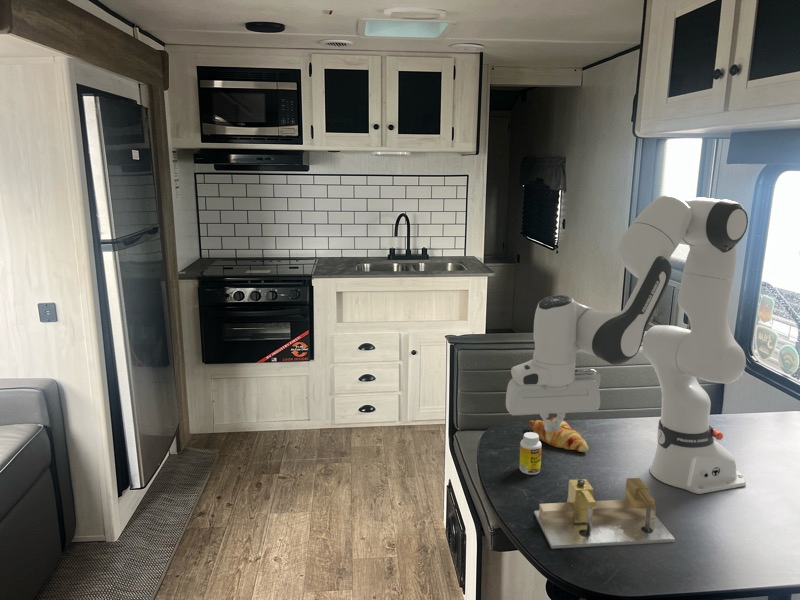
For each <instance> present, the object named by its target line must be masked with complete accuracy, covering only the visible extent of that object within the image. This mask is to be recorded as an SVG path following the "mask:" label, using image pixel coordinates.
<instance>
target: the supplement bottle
mask: <svg viewBox="0 0 800 600" xmlns="http://www.w3.org/2000/svg"><path fill="white" fill-rule="evenodd" d="M522 438H523V439H521V441H520V442H519V470H520V471H521V473H523V474H526V475H532V476H533V475H537V474H539V473H540V472H541V468H542V467H541V466H542V442H541V440H540V439H539V435H538V434H536V433H534V432H533V431H529V432H528V431H527V432H525V433H524V434H523V437H522Z"/></svg>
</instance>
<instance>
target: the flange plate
mask: <svg viewBox="0 0 800 600" xmlns="http://www.w3.org/2000/svg"><path fill="white" fill-rule="evenodd" d="M533 514H534V516H535V518H536V521H537V523H538V525H539V526H540V528H541V530H542V532H543V534H544V536H545V538H546V540H547V542H548V545H549V546H550V548H551V549H553V550H555V549H569V548H571V549H573V548H587V547H589V548H590V547H591V548H592V547H606V546H607V547H608V546H623V545H624V546H627V545H642V544H644V545H645V544H659V543H660V544H662V543H663V544H665V543H675V542H676V541H675V540H676V538H675V537H674V536H673V535H672V533H671V532H670V531H669V529H667V528H666V526H665V525H664V524H663V523H662V521H661V520H660V519H659V518H658V516H657V515H656V514H655V517H652V518H650V527H649V530H647V529H645V521H646V518H633V519H613V520H594V521H592V526H591V533H588V532H587V522H582V523H574V522H555V523H543V522H542V520H541V518H540V516H539V510H534V511H533Z"/></svg>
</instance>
